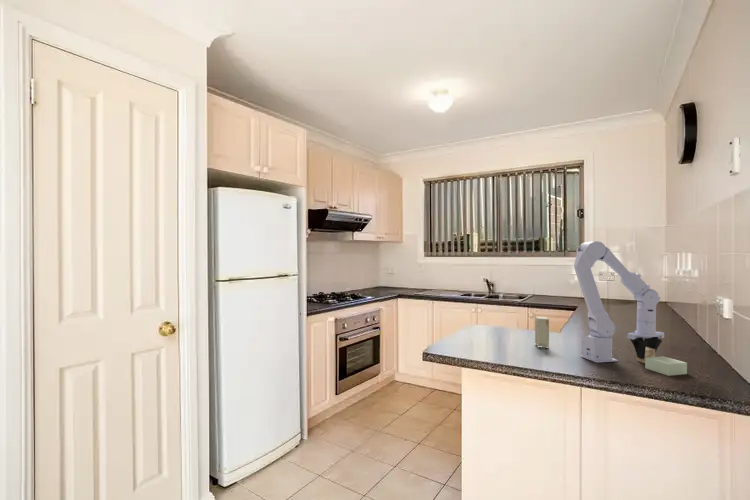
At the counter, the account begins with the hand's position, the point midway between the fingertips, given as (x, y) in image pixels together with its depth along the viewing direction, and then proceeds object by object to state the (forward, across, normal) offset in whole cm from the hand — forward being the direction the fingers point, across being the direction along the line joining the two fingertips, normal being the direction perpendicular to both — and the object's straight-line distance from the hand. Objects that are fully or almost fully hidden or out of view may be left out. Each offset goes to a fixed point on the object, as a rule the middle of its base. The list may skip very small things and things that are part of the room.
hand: (645, 357), depth 140 cm
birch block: (+1, 0, 0) cm, 1 cm away
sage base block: (+2, +3, +10) cm, 11 cm away
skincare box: (+2, +24, -26) cm, 35 cm away
